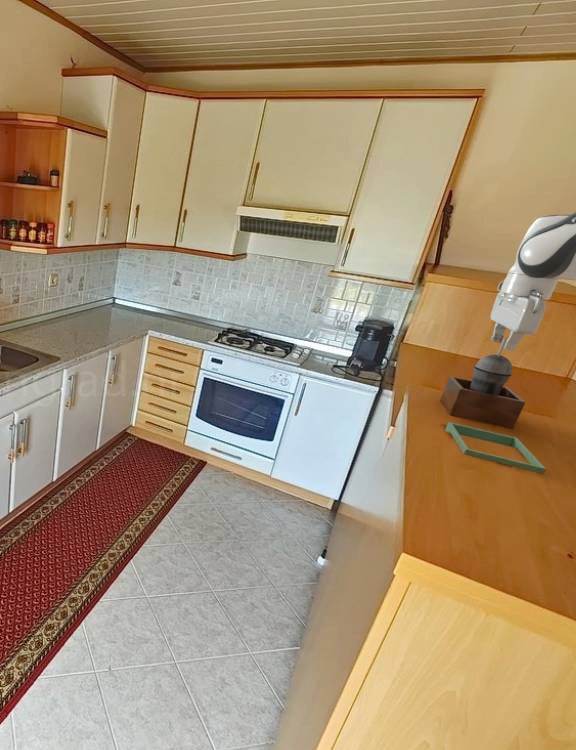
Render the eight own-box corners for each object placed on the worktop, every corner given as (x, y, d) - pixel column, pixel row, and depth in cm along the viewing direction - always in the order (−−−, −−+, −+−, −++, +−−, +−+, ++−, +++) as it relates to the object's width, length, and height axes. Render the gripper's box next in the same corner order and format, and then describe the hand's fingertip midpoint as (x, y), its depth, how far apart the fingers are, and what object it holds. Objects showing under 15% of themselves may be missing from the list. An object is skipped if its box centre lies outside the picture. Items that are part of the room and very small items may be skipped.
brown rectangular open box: (497, 412, 127) (508, 387, 124) (513, 429, 116) (525, 402, 114) (439, 400, 132) (449, 375, 129) (449, 414, 121) (460, 388, 119)
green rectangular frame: (512, 448, 104) (517, 437, 104) (540, 480, 91) (546, 468, 90) (444, 432, 109) (448, 421, 108) (460, 460, 96) (465, 449, 95)
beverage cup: (457, 413, 123) (489, 336, 116) (455, 405, 129) (485, 332, 122) (494, 422, 119) (529, 343, 112) (490, 414, 125) (523, 338, 118)
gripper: (563, 295, 103) (534, 358, 108) (528, 286, 120) (504, 340, 125) (526, 290, 105) (498, 351, 110) (497, 282, 123) (474, 335, 128)
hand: (501, 345), depth 118 cm, fingers open, 8 cm apart
